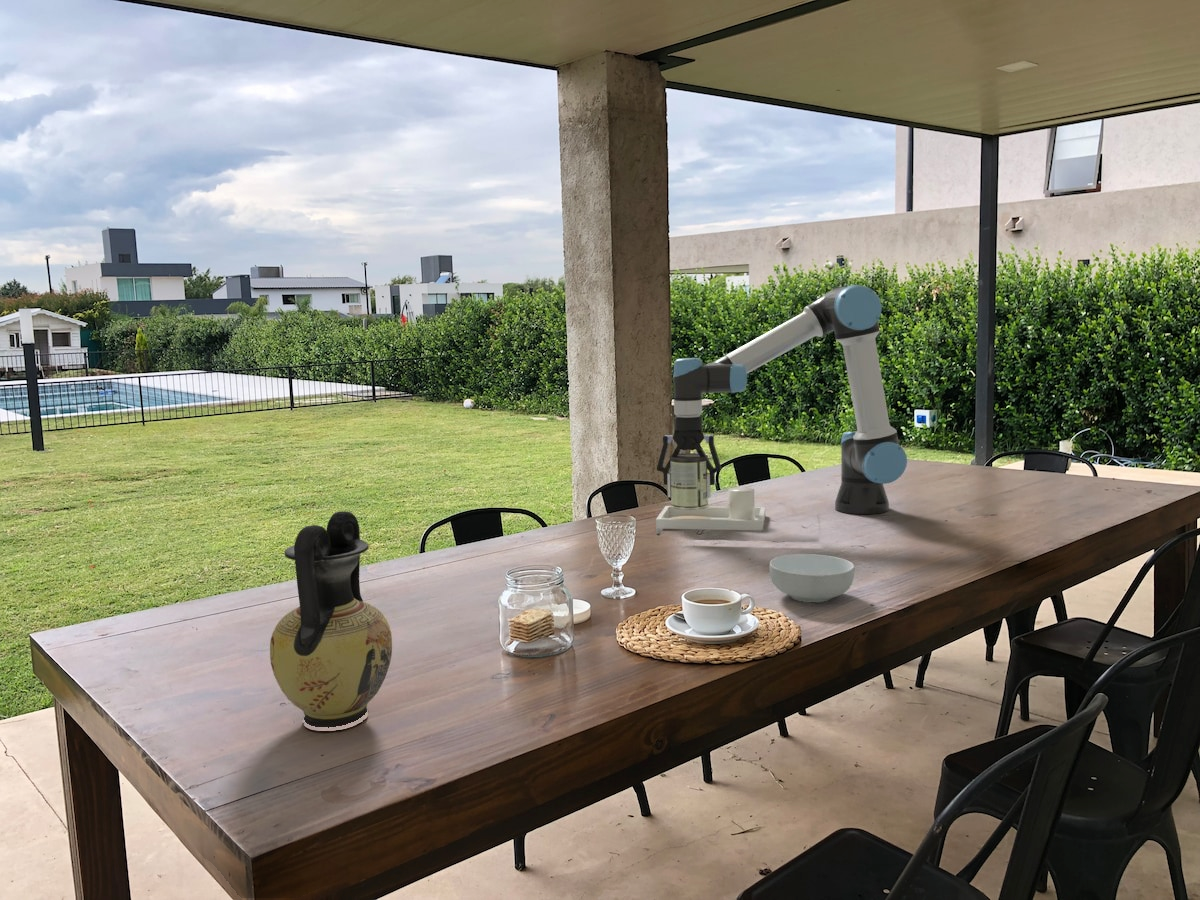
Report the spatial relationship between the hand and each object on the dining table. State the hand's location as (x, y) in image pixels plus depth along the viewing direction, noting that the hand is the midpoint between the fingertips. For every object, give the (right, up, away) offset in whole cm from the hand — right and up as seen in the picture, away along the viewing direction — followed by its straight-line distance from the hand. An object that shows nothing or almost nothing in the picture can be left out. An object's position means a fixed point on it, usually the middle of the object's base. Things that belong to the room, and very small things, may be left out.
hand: (689, 496), depth 253 cm
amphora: (-63, -27, -118) cm, 136 cm away
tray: (+6, -8, 0) cm, 10 cm away
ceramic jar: (+14, -7, -2) cm, 16 cm away
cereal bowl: (+18, -17, -66) cm, 70 cm away
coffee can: (0, -3, 0) cm, 3 cm away
